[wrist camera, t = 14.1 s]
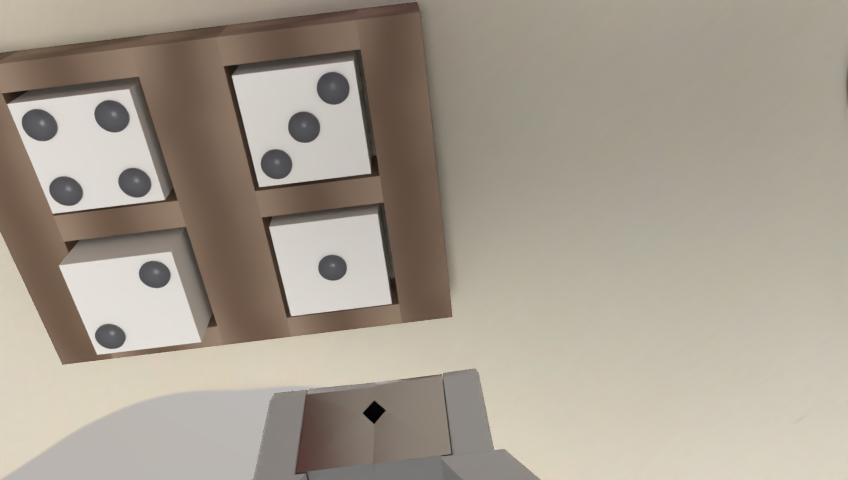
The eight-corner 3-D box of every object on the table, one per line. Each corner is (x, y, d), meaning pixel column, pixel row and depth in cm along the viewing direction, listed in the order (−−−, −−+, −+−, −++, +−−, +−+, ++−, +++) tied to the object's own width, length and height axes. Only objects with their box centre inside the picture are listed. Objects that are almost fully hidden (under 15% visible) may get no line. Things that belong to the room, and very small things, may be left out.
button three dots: (355, 46, 36) (353, 61, 33) (371, 151, 39) (371, 174, 36) (243, 60, 36) (230, 76, 33) (268, 164, 39) (258, 188, 36)
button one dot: (377, 189, 40) (377, 215, 37) (391, 275, 43) (391, 305, 40) (276, 202, 40) (268, 228, 37) (296, 287, 43) (290, 318, 40)
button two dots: (186, 224, 38) (170, 253, 35) (213, 310, 41) (200, 344, 38) (82, 236, 38) (56, 267, 35) (116, 322, 41) (95, 357, 38)
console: (416, 1, 35) (419, 12, 32) (448, 290, 44) (452, 316, 41) (-40, 57, 35) (-74, 72, 32) (81, 335, 44) (62, 364, 41)
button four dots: (149, 72, 36) (127, 90, 33) (180, 176, 38) (163, 201, 35) (36, 86, 36) (4, 105, 33) (76, 188, 38) (51, 215, 35)
